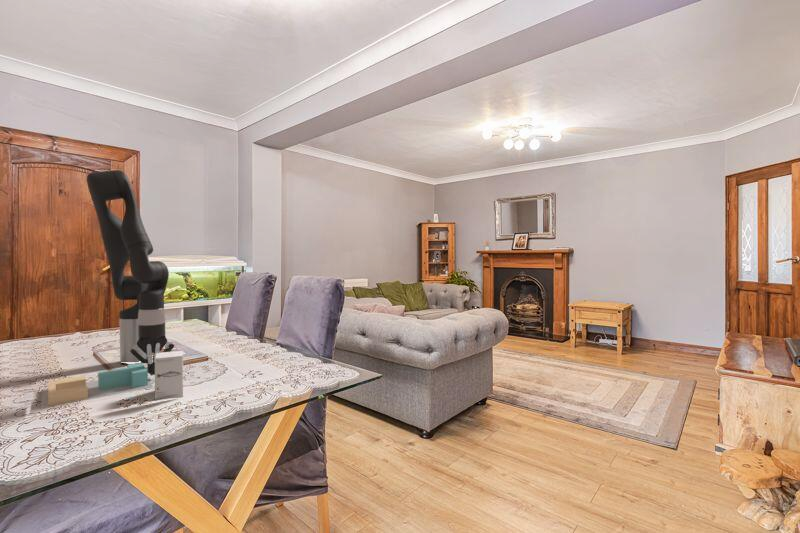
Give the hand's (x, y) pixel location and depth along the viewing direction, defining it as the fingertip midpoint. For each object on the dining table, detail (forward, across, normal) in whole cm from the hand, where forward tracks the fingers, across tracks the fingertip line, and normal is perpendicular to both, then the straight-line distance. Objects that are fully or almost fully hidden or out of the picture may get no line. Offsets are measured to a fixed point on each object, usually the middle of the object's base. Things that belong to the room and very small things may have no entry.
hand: (152, 374), depth 132 cm
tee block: (+2, +8, 0) cm, 8 cm away
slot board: (+3, +14, 0) cm, 15 cm away
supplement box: (+3, -2, +17) cm, 17 cm away
